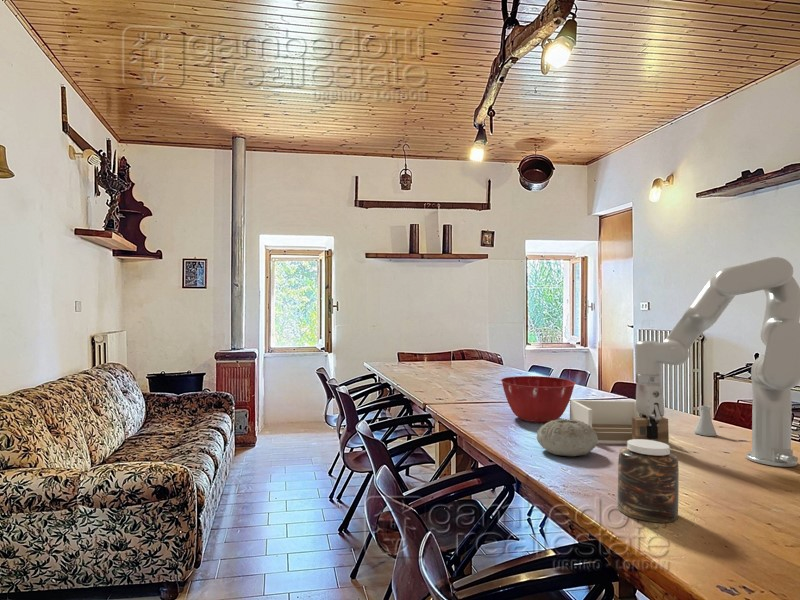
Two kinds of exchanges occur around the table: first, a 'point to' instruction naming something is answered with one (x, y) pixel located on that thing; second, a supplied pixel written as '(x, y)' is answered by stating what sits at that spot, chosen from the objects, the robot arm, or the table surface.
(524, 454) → the table surface
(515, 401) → the mixing bowl
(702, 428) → the flask
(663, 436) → the cardboard box
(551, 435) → the decorative shell
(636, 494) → the jar
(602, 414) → the open white box
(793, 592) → the table surface
